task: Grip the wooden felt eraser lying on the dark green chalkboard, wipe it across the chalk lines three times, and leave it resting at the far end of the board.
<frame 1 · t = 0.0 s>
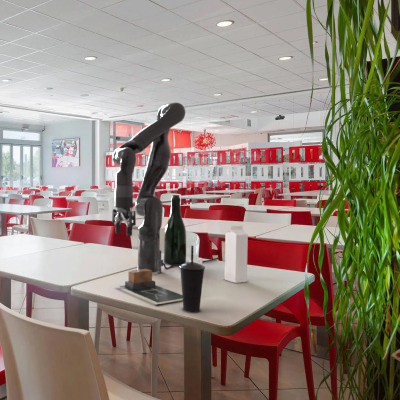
hand: (123, 234, 176), 17 cm above the table, tool pointing down, fingers open, 8 cm apart
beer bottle: (174, 263, 202), on the table
eraser: (140, 286, 154), point 1 cm above the table, touching chalkboard
container set: (192, 274, 180), on the table
chalkboard: (151, 294, 148), on the table
drinking cup: (191, 310, 130), on the table
milk: (235, 281, 168), on the table
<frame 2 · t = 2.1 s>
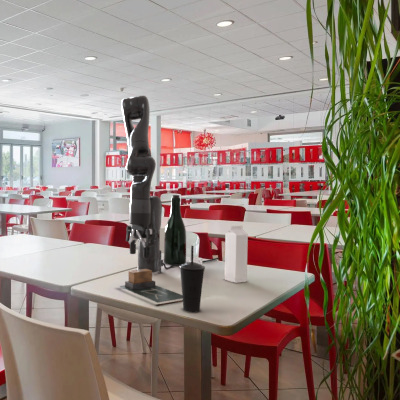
hand: (139, 255, 153), 12 cm above the table, tool pointing down, fingers open, 8 cm apart
nothing on the table moved.
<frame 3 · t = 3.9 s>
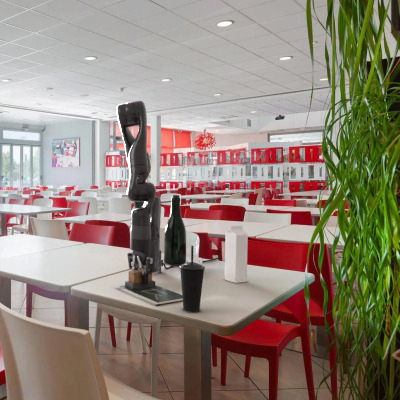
hand: (140, 283, 154), 2 cm above the table, tool pointing down, fingers closed on eraser, 5 cm apart
eraser: (140, 286, 154), point 1 cm above the table, touching chalkboard, gripper
everything else where it was.
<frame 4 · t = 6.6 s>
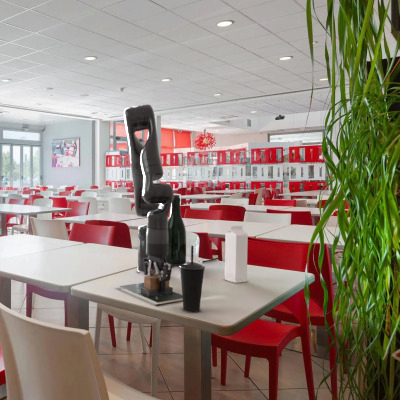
hand: (156, 290, 145), 2 cm above the table, tool pointing down, fingers closed on eraser, 5 cm apart
eraser: (156, 293, 145), point 1 cm above the table, touching gripper
everything else where it was.
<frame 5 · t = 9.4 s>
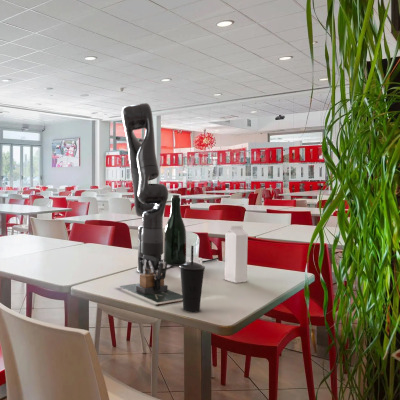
hand: (151, 288, 148), 2 cm above the table, tool pointing down, fingers closed on eraser, 5 cm apart
eraser: (151, 291, 148), point 1 cm above the table, touching gripper
everything else where it was.
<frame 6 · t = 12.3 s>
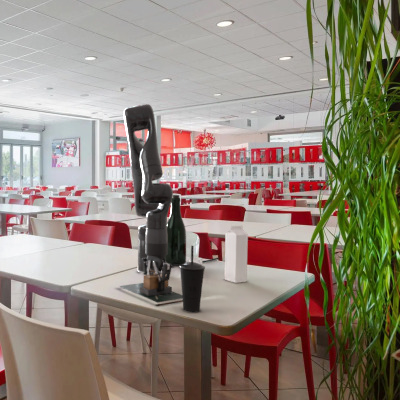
hand: (155, 289, 145), 2 cm above the table, tool pointing down, fingers closed on eraser, 5 cm apart
eraser: (155, 292, 145), point 1 cm above the table, touching gripper
everything else where it was.
when the fingers open (2 cm above the table, at t = 14.7 s): eraser stays where it is, resting on chalkboard.
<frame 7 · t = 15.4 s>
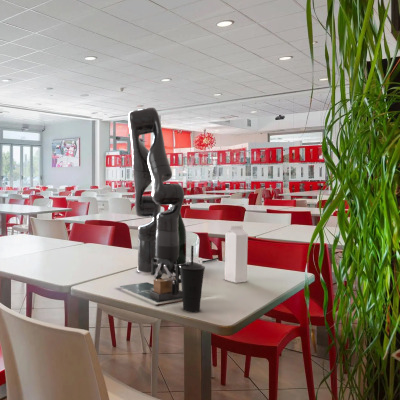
hand: (166, 291, 140), 3 cm above the table, tool pointing down, fingers open, 8 cm apart
eraser: (166, 297, 140), point 1 cm above the table, touching chalkboard
everything else where it was.
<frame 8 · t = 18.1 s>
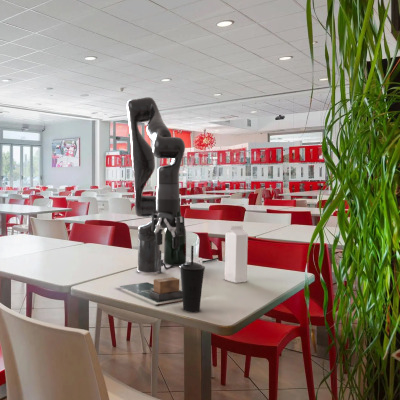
hand: (167, 246, 140), 18 cm above the table, tool pointing down, fingers open, 8 cm apart
nothing on the table moved.
at the end: eraser moved 15.0 cm from its start; eraser inside the target area (1.0 cm from its centre), point 1.0 cm above the table; eraser tilted 0° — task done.
